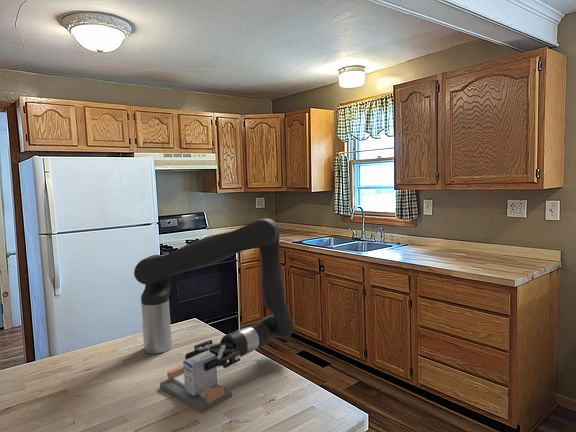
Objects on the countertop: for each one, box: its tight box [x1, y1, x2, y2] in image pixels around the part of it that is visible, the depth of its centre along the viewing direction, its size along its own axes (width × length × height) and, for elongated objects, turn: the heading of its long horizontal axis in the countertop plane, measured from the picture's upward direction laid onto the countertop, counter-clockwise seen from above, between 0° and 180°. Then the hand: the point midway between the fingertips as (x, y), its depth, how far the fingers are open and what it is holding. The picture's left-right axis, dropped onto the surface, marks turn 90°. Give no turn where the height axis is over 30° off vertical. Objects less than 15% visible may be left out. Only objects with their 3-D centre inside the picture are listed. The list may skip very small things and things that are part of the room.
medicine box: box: [182, 351, 218, 396], centre depth 108 cm, size 8×4×9 cm, turn 138°
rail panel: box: [159, 365, 233, 414], centre depth 111 cm, size 20×10×4 cm, turn 48°
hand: (195, 362), depth 107 cm, fingers open, 8 cm apart
